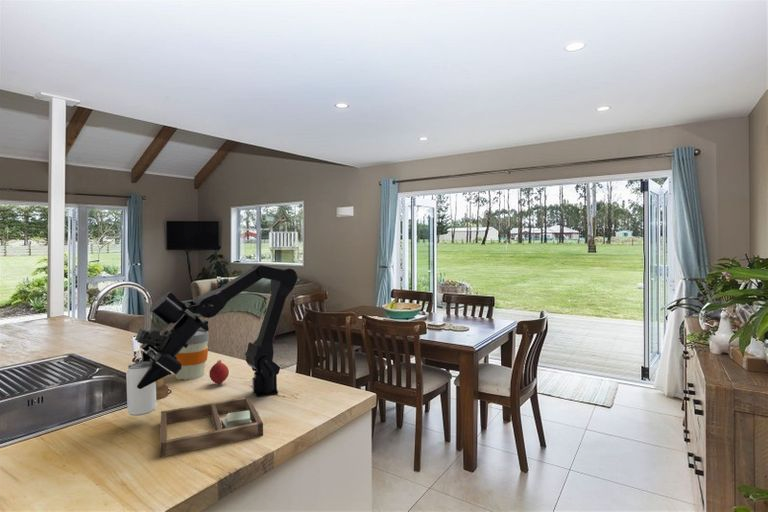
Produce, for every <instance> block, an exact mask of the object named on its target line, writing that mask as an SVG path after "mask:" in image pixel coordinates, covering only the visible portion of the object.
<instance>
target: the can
mask: <svg viewBox="0 0 768 512" xmlns="http://www.w3.org/2000/svg"><path fill="white" fill-rule="evenodd" d="M149 368H150V362H141V361H140V362H139V361H138V362H134V363H131V364H129V365H128V366H127V370H126V377H125V378H126V401H127V403H126V405H127V414H129V415H130V416H145V415H147V414H150V413H152V412H154V411H155V410H156V408H157V405H158V404H157V399H156V381H155V382H153V383H151V384H149V385H148V386H146V387H144V388H142V389H139V388H137V385H138V384H139V382H140V381H141V379H142V378H143V376H144V375H145V374H146V372H147V371H148V369H149Z"/></svg>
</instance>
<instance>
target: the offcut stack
mask: <svg viewBox="0 0 768 512" xmlns="http://www.w3.org/2000/svg"><path fill="white" fill-rule="evenodd" d="M220 422H221V426H222V429H225V428H230V427H235V426H240V425H245V424H250V423H252V421H251V420H250V410H248V411H246V410H240V411H234V412H229V413H227V417H225V418H221V419H220Z"/></svg>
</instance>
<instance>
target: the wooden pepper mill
mask: <svg viewBox="0 0 768 512" xmlns="http://www.w3.org/2000/svg"><path fill="white" fill-rule="evenodd" d="M164 382H165V381H164V377H163V378H161V379H159V380H157V381H156V400H160V399H164V398H166V397H168V396H169V385H166V384H165V383H164Z"/></svg>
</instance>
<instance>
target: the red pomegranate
mask: <svg viewBox="0 0 768 512" xmlns="http://www.w3.org/2000/svg"><path fill="white" fill-rule="evenodd" d="M208 375H209V378H210V381H212V382H213V383H215V384H217V385H221V384H222V383H223V382H225V380H226V379H228V376H229V368H228V366H227V365H226V364H225V363H223V362H222V360H221V359H219V360H217V361H216V363H214V364H213V365H212V367H210V370H209V373H208Z"/></svg>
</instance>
